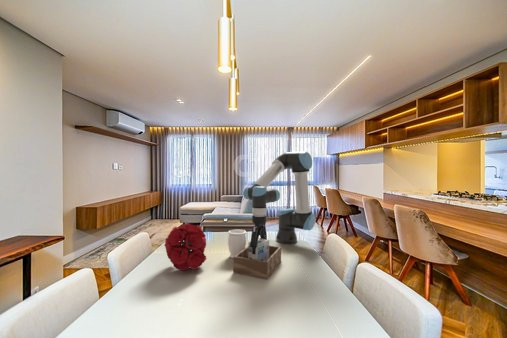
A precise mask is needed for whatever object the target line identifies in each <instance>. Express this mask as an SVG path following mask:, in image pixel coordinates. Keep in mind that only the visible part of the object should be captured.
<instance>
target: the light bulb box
mask: <svg viewBox="0 0 507 338" xmlns="http://www.w3.org/2000/svg"><path fill="white" fill-rule="evenodd" d="M250 242H251V241H249V242H248V245H247V246H248V258H249V259H252V247H250ZM269 245H270V239H267V240H266V239H262V238H261V237H259V238H258V243H257V260H260V261H267V260H268V259H269Z"/></svg>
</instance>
